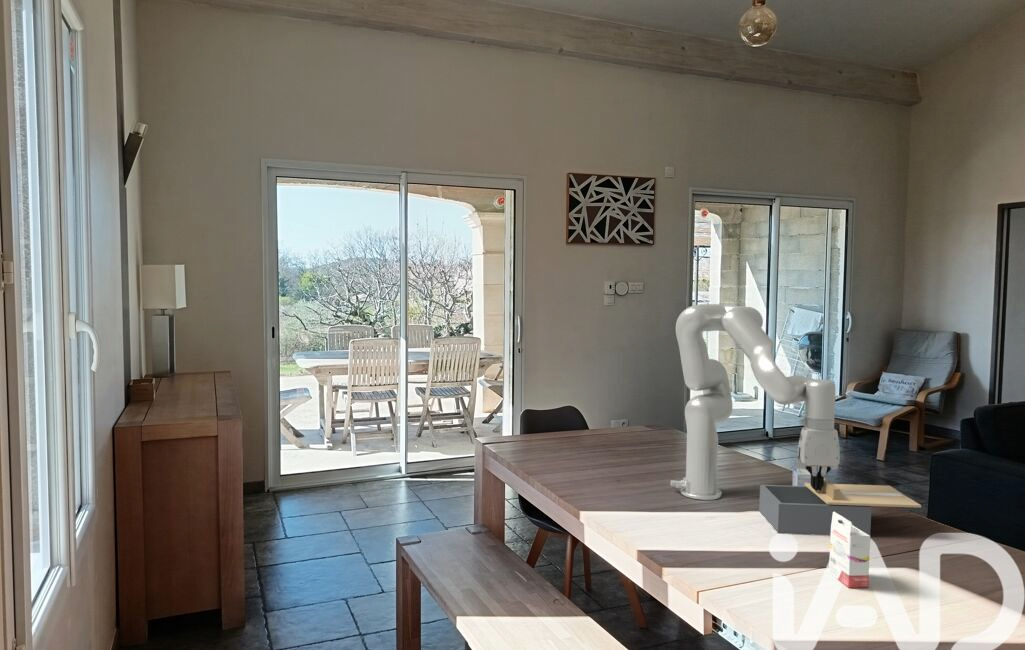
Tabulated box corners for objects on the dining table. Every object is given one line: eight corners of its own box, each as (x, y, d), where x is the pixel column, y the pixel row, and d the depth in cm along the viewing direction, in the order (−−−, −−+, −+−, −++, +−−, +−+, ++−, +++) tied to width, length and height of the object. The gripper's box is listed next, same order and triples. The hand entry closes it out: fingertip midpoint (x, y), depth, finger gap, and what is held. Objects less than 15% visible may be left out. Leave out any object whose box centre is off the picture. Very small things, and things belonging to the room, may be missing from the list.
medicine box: (811, 502, 217) (812, 474, 216) (796, 501, 218) (797, 473, 217) (806, 494, 224) (807, 468, 224) (791, 493, 225) (792, 467, 225)
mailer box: (777, 533, 189) (778, 503, 189) (759, 511, 207) (760, 484, 207) (870, 536, 188) (871, 507, 187) (843, 514, 206) (844, 487, 205)
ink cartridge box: (869, 588, 156) (872, 522, 155) (848, 588, 155) (851, 523, 155) (848, 572, 164) (850, 510, 163) (827, 572, 164) (830, 510, 163)
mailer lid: (827, 504, 188) (828, 491, 188) (804, 484, 206) (804, 472, 206) (921, 507, 186) (921, 494, 186) (889, 487, 204) (890, 475, 204)
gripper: (795, 426, 192) (793, 492, 193) (852, 427, 191) (849, 494, 192) (787, 420, 200) (785, 484, 201) (841, 422, 199) (839, 486, 200)
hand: (816, 489), depth 197 cm, fingers closed
